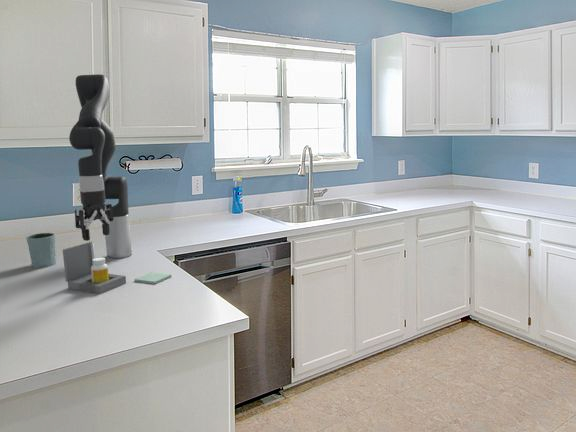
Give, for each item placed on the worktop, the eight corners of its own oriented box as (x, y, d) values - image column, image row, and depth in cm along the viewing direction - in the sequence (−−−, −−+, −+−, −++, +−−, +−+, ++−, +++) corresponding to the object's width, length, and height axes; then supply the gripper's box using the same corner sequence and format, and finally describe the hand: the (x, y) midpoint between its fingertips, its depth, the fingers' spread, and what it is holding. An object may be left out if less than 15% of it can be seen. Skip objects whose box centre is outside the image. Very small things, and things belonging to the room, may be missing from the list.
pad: (134, 281, 172) (134, 279, 172) (151, 274, 180) (151, 272, 180) (155, 284, 168) (155, 281, 168) (171, 276, 177) (171, 274, 176)
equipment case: (66, 288, 166) (62, 249, 163) (93, 278, 176) (90, 241, 174) (100, 293, 160) (96, 253, 157) (126, 282, 170) (122, 244, 168)
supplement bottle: (89, 286, 167) (87, 259, 166) (104, 282, 171) (102, 256, 169) (97, 290, 164) (94, 262, 162) (112, 286, 167) (110, 258, 166)
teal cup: (59, 260, 202) (56, 231, 200) (56, 266, 193) (53, 236, 191) (31, 263, 199) (28, 233, 197) (27, 269, 190) (24, 239, 188)
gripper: (99, 186, 169) (103, 232, 172) (66, 191, 157) (71, 241, 159) (116, 187, 166) (120, 234, 169) (83, 192, 154) (88, 243, 156)
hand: (96, 237), depth 164 cm, fingers open, 8 cm apart
